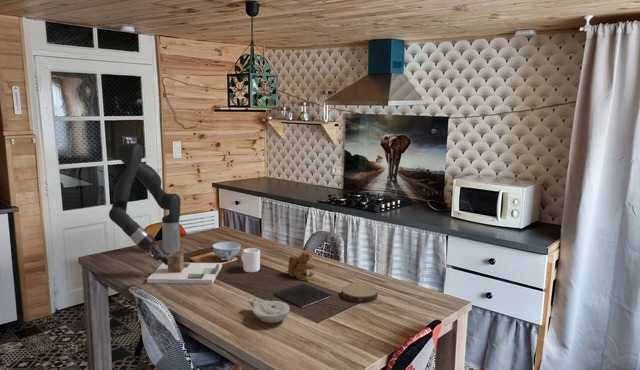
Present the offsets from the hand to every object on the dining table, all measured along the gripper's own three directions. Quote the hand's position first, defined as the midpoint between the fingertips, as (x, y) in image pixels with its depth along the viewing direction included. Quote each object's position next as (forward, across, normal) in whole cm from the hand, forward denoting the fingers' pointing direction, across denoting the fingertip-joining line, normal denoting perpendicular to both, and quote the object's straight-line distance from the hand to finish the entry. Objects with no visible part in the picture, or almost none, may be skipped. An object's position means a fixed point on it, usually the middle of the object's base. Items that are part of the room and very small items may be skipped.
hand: (168, 263), depth 233 cm
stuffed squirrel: (+49, 0, -41) cm, 64 cm away
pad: (+18, 0, -10) cm, 21 cm away
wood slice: (+69, -24, -60) cm, 95 cm away
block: (+5, 0, 0) cm, 5 cm away
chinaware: (+21, +26, -13) cm, 36 cm away
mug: (+31, +10, -23) cm, 40 cm away
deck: (+10, 0, -2) cm, 10 cm away
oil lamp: (+41, -48, -33) cm, 71 cm away
